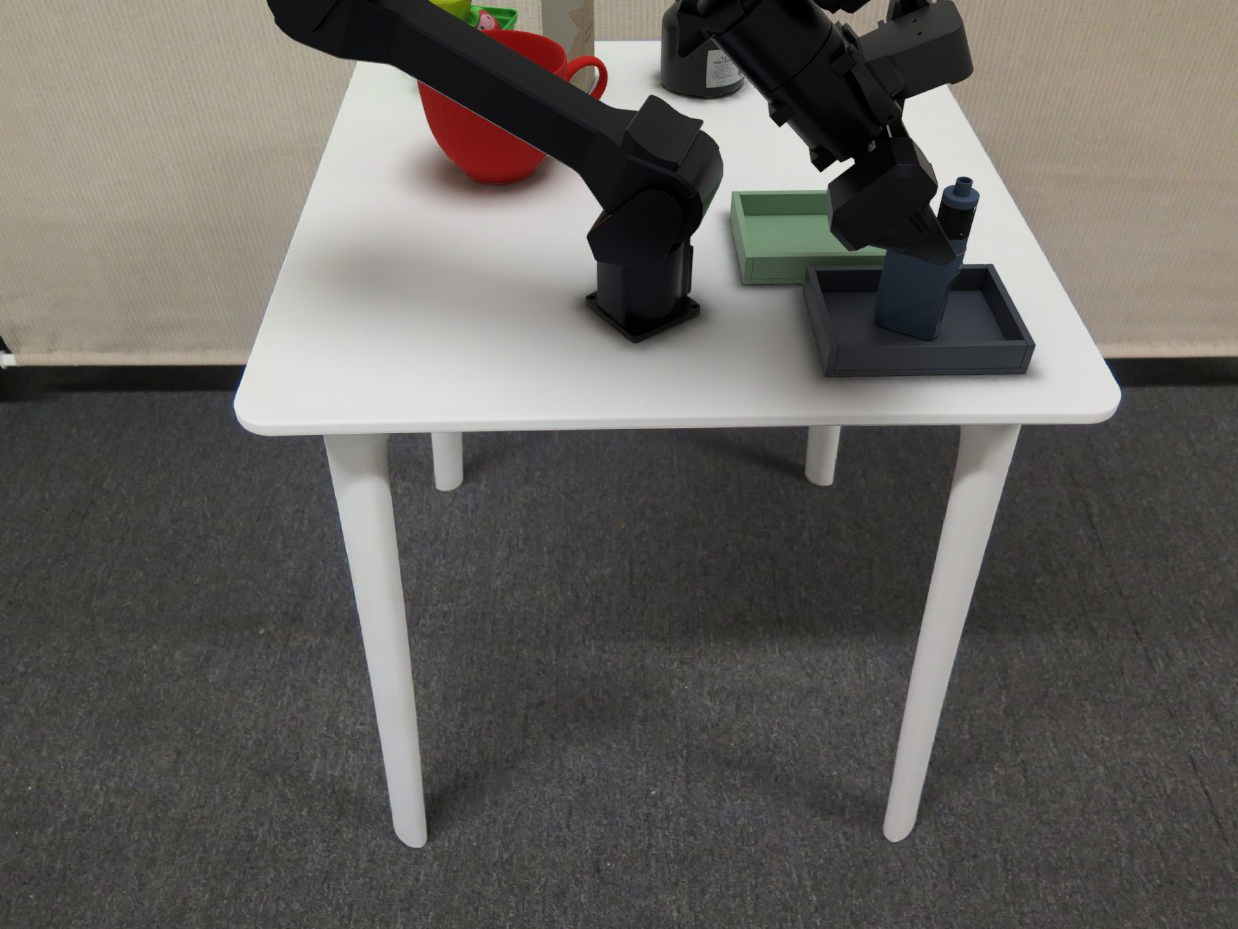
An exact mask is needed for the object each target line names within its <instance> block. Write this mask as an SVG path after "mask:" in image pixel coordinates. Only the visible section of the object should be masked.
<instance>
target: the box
mask: <svg viewBox="0 0 1238 929" xmlns="http://www.w3.org/2000/svg"><path fill="white" fill-rule="evenodd" d="M540 3H541V4H540V5H541V6H540V7H541V27H542V36H544V37H547V38H549V39H551V40H553V41H555V42H557V43H558V44H559V45H560V46H562V47H563V49H564V50H565V52H566V54H567V64H568V63H569V62H570V61H572V60H574V59H576V58H578V57H581V56H595V54H596V52H595V50H596V49H595V48H596V47H595V0H540ZM595 57H596V56H595ZM595 80H596V66H586V67H583V68H581V69H580V70H578V71H577V72H576V73H575V74H574V75H573V76H572V78H571V79H570V81H569V83H571V84H572V85H574V86H576V87H577V88H579V89H581V90H583V91H584V92H586V93H588V94H589V92H590V90H591V88H592V86H593V84H594V82H595Z"/></svg>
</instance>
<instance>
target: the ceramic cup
mask: <svg viewBox="0 0 1238 929" xmlns="http://www.w3.org/2000/svg"><path fill="white" fill-rule="evenodd" d="M480 31H481V32H483V33H485V34H487V35H488V36H490V37H492V38H493V39H495V40H497V41H499V42H500V43H502V44H504V45H505V46H507V47H509V48H511V49H512V50H514V51H516V52H517V53H519V54H521V55H523V56H524V57H526V58H528V59H529V60H531V61H533V62H535V63H536V64H538V65H540V66H541V67H543V68H545V69H547V70H548V71H550V72H552V73H553V74H555V75H557V76H559V77H560V78H562V79H564V80H565V81H567V82H569V81H570V79H571V78H572V76H573V75H574V74H575V73H576V72H577V71H578V70H580V69H581V68H583V67H586V66H595V68H597V70H598V79H597V83H596V85H595V86H594V88H593V90H592V91H591V92H590V94H589V95H591V96H593V97H595V98H596V99H598V100H601V98H602V96H603V95H604V93H605V91H606V88H607V86H608V82H609V72H608V69H607V67H606V64H605V63H604V62H603V60H601V59H600V58H599V57H598V56H581V57H578V58H576V59H574V60H572V61H570V62H569V63H568V64H567V54H566V52H565V50H564V49H563V47H562V46H560V45H559V44H558V43H557V42H555V41H553V40H551V39H549V38H547V37H544V36H543V35H541V34H538V33H533V32H529V31H523V30H515V29H514V30H480ZM416 84H417V88H418V93H419V97H420V101H421V105H422V108H423V113H424V116H425V118H426V122H427V124H428V127H429V130H430V132H431V134H432V136H433V138H434V139H435V141H436V143H437V145H438V146H439V147H440V149H441V150H442V151H443V152H444V154H445V155H446V157H447V158H448V159H449V160H450V161H452V162H453V163H454V165H456V167H457V168H459V169H460V170H462V171H463V172H464V173H465V174H466V175H467V176H468V177H469V178H470V179H471V180H474V181H477V182H480V183H483V184H491V185H503V184H504V185H505V184H512V183H516V182H519V181H522V180H525V179H526V178H528V177H530V176H531V175H532V174H534V172H535V171H536V169H537V168H538V166H540V164H541V163H542V162H543V161H544V160H545V159H546V157H547V156H548V155H546V154H545V153H543V152H541V151H540V150H538V149H536V148H534V147H533V146H531V145H529V144H527V143H526V142H524V141H522V140H520V139H519V138H517V137H515V136H513V135H512V134H510V133H508V132H507V131H505V130H503V129H501V128H500V127H498V126H496V125H494V124H493V123H491V122H489V121H487V120H486V119H484V118H482V117H480V116H479V115H477V114H475V113H474V112H472V111H470V110H468V109H467V108H465V107H463V106H461V105H460V104H458V103H456V102H454V101H453V100H451V99H449V98H447V97H446V96H444V95H442V94H441V93H439V92H437V91H435V90H434V89H432V88H430V87H428V86H427V85H425V84H423V83H421V82H420V81H418V80H416Z"/></svg>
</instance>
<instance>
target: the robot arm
mask: <svg viewBox="0 0 1238 929" xmlns="http://www.w3.org/2000/svg"><path fill="white" fill-rule="evenodd" d="M265 1H266V4H267V6H268V8H269V10H270V12H271V14H272V15H273V22H274V25H275V26H277V28H278V29H279V30H280V31H281V33H283V34H285V35H286V36H287V37H288V38H290V39H291V40H292V41H294V42H296V43H298V44H301V45H303V46H305V47H309V48H311V49H312V50H313V49H314V50H315V51H318V52H321V53H324V54H326V55H329V56H331V57H334V58H336V59H339V60H345V61H352V62H353V61H354V62H363V63H369V64H370V63H371V64H378V65H379V64H380V65H386V66H390V67H393V68H395V69H397V70H398V71H401V72H402V73H404V74H406V75H407V76H409V77H411V78H412V79H414V80H416V81H417V80H418V81H420V82H421V83H423V84H425V85H427V86H428V87H430V88H432V89H434V90H435V91H437V92H439V93H441V94H442V95H444V96H446V97H447V98H449V99H451V100H453V101H454V102H456V103H458V104H460V105H461V106H463V107H465V108H467V109H468V110H470V111H472V112H474V113H475V114H477V115H479V116H480V117H482V118H484V119H486V120H487V121H489V122H491V123H493V124H494V125H496V126H498V127H500V128H501V129H503V130H505V131H507V132H508V133H510V134H512V135H513V136H515V137H517V138H519V139H520V140H522V141H524V142H526V143H527V144H529V145H531V146H533V147H534V148H536V149H538V150H540V151H541V152H543V153H545V154H546V155H547V156H548V157H550V158H552V159H554V160H555V161H557V162H558V163H561V164H562V165H564V166H566V167H567V168H569V169H571V170H572V171H574V172H575V174H578V176H579V177H580V178H581V180H582V181H583V182H584V184H585V185H586V187H587V189H588V190H589V191H590V193H591V195H592V196H593V197H594V199H595V200H596V201H597V203H598V204H599V206H600V208H601V209H602V211H601V212H600V214H599V215H598V217H597V218H596V220H595V221H594V223H593V225H592V226H591V228H590V229H589V230H588V232H587V234H586V240H587V243H588V246H589V248H590V251H591V254H592V256H593V258H594V260H595V262H596V291H594V292H591V293H588V294H587V295H585V297H584V298H585V304H586V306H588V307H590V308H591V309H592V310H593V311H594V312H595V313H596V314H598V315H599V316H600V317H602V318H603V319H604V320H605V321H607V323H609V324H610V325H611V326H613V327H614V328H615V329H616V330H618V331H619V332H620V333H621V334H622V335H624V336H625V337H626V338H628V340H630V341H633V342H640V341H641V340H643V339H646V338H648V337H650V336H652V335H655V334H657V333H659V332H661V331H663V330H665V329H668V328H670V327H673V326H674V325H677V324H679V323H681V322H683V321H686V320H688V319H691V318H693V317H695V316H697V315H699V314H701V310H702V306H701V304H700V303H699V302H697V301H695V300H694V299H693V298H692V297H690V296H689V294H691V293H692V285H693V284H692V283H693V281H692V280H693V268H694V267H693V265H694V252H695V251H694V249H695V247H694V245H692V244H691V242H692V241H691V240H692V239H691V238H692V236H693V235H695V233H696V232H697V231H698V229H699V228H700V226H701V224H702V222H703V220H704V218H705V216H706V214H707V213H708V210H709V208H710V207H711V204H712V202H713V200H714V199H715V195H716V194H717V192H718V190H719V188H720V186H721V183H722V181H723V177H724V165H725V164H724V161H723V157H722V154H721V151H720V146H719V145H718V143H717V142H716V140H715V139H714V137H712V136H710V135H709V134H708V133H707V132H706V131H704V130H702V127H703V125H704V120H703V119H701V118H696V117H691V116H688V115H686V114H684V113H681V112H679V110H677V109H675V108H674V107H673V106H672V105H671V104H669V103H668V102H667V101H666V100H664V99H663V98H662V97H659V96H658V95H655V94H652V93H651V94H649V95H648V96H647V97H646V99H645V100H644V102H643V103H642V105H641V106H640V108H639V109H638V110H637V109H636V110H635V109H626V108H618V107H613V106H611V105H609V104H606V103H605V102H603V101H601V99H599V100H598V99H596V98H595V97H593V96H591V95H590V94H589V92H588V93H586V92H584V91H583V90H581V89H579V88H577V87H576V86H574V85H572V84H571V83H569V82H567V81H565V80H564V79H562V78H560V77H559V76H557V75H555V74H553V73H552V72H550V71H548V70H547V69H545V68H543V67H541V66H540V65H538V64H536V63H535V62H533V61H531V60H529V59H528V58H526V57H524V56H523V55H521V54H519V53H517V52H516V51H514V50H512V49H511V48H509V47H507V46H505V45H504V44H502V43H500V42H499V41H497V40H495V39H493V38H492V37H490V36H488V35H487V34H485V33H483V32H481V31H480V30H478V29H476V28H475V27H473V26H471V25H469V24H468V23H466V22H464V21H463V20H461V19H459V18H457V17H456V16H454V15H452V14H451V13H449V12H447V11H445V10H444V9H442V8H440V7H439V6H437V5H435V4H433V3H432V2H430V1H429V0H265ZM871 1H872V0H680V2H679V5H678V8H677V11H676V16H677V20H678V26H679V38H678V47H677V56H678V57H679V58H681V59H686V58H687V57H689V56H690V55H691V54H692V53H693V52H695V51H696V50H697V49H698V48H699V47H701V46H702V45H703V44H704V43H705V42H707V41H708V40H709V39H711V40H712V41H713V42H714V43H715V44H716V45H717V46H718V47H719V48H720V49H721V51H722V52H723V53H724V54H725V55H726V56H727V57H728V58H729V59H730V61H731V62H732V63H733V64H734V65H735V66H736V67H737V68H738V69H739V71H740V72H741V73H742V74H743V75H744V76H745V78H746V79H747V81H748V82H749V83H750V84H751V85H752V86H753V87H754V88H755V89H756V91H757V92H758V93H759V94H760V95H761V96H762V97H763V98H764V100H765V101H766V102H767V108H768V109H767V111H768V117H769V118H770V119H771V120H772V121H773V123H775V125H776V126H777V127H778V128H779V129H780V128H781V127H783V126H784V125H785V124H787V125H788V127H789V128H790V129H792V130H793V132H794V133H795V135H797V137H799V139H801V140H802V142H803V143H804V144H805V145H806V146H807V147H808V153H809V154H808V155H809V159H810V163H811V164H812V165H813V166H814V168H816V170H817V171H818V172H819V173H820V174H822V173H823V172H824V171H825V170H826V169H828V168H829V167H830V166H832V165H833V164H834V163H836V162H837V161H838V162H839V163H841V164H842V163H845V162H846V161H848V160H850V159H853V162H854V163H853V164H852V165H851V166H849V167H848V168H847V169H845V170H844V171H843V172H841V173H840V174H839V175H837V176H836V177H835V178H833V180H831V181H830V182H829V183H827V188H826V190H827V194H826V200H825V206H826V212H827V218H828V223H829V229H830V232H831V233H832V234H833V235H834V236H835V238H836V239H837V240H838V241H839V242H840V243H841V244H842V245H843V246H844V247H845V248H846V249H847V250H848V251H858V250H859V249H862V248H865V247H866V246H872V247H876V248H881V249H885V250H889V251H893V252H897V253H900V254H903V255H907V256H910V257H913V258H916V259H919V260H923V261H926V262H929V263H932V264H935V265H939V266H945V265H947V264H949V263H950V262H952V261H953V260H954V259H955V258H956V253H955V251H954V249H953V247H952V245H951V243H950V241H949V239H948V238H947V236H946V234H945V232H944V230H943V228H942V226H941V225H940V223H939V221H938V219H937V215H936V214H935V212H934V209H933V208H932V206H931V201H932V200H933V199H934V198H935V196H937V194H938V190H939V182H938V179H937V176H936V173H935V170H934V166H933V164H932V162H930V161H929V159H928V158H927V157H926V155H925V153H924V151H923V150H922V149H921V148H920V147H919V145H918V143H917V142H915V140H914V139H913V137H911V135H910V133H909V132H908V129H907V126H906V125H905V123H904V121H903V114H904V108H905V103H906V100H908V99H910V98H913V97H916V96H918V95H921V94H924V93H927V92H929V91H931V90H934V89H937V88H940V87H942V86H945V85H947V84H949V85H956V84H959V83H961V82H963V81H965V80H967V79H968V78H970V77H971V76H972V74H973V73H974V71H975V67H974V63H973V60H972V55H971V54H972V53H971V50H970V46H969V41H968V37H967V32H966V29H965V24H964V20H963V18H962V16H961V13H960V12H959V10H958V7H957V5H956V4H955V2H954V1H953V0H936V2H933V0H889V2H888V7H887V12H886V16H885V20H884V19H881V20H878V21H876V24H877V28H875V29H873V30H871V31H869V32H866V33H865V34H862V35H861V36H859V35H858V34H857V33H856V32H855V31H854V29H853V28H852V27H851V25H850V24H849V23H848V22H845V23H844V24H843V23H841V22H840V20H837V21H836V22H835V23H834V22H833V21H832V20H831V19H830V18H829V17H828V15H827V14H826V13H825V12H824V11H828V12H829V13H830V14H831V15H835V14H836V13H837V12H839V11H840V10H841V11H843V12H845V13H847V14H852V15H854V14H855V13H857V11H859V10H860V9H862V8H863V7H865V6H866V5H867V4H868V3H869V2H871Z"/></svg>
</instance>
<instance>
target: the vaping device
mask: <svg viewBox="0 0 1238 929" xmlns="http://www.w3.org/2000/svg"><path fill="white" fill-rule="evenodd" d="M973 184H974V180H973V178H971V177H969V176H965V175H964V176H957V178H956V179H955V183H954V184H951V185H948V186H946V187H944V188H943V190H942V194H941V198H940V202H939V206H938V210H937V213H936V214H937V215H936V217H937V219H938V221H939V223H940V225H941V226H942V228H943V230H944V232H945V234H946V236H947V238H948V239H949V241H950V243H951V245H952V247H953V249H954V251H955V253H956V258H955V259H954V260H953V261H952V262H950V263H949V264H947V265H945V266H939V265H935V264H932V263H929V262H926V261H923V260H919V259H916V258H913V257H910V256H907V255H903V254H900V253H897V252H893V251H889V250H886V255H885V260H884V264H883V269H882V274H881V279H880V283H879V288H878V293H877V298H876V302H875V307H874V313H875V316H876V322H877V323H878V324H879V325H880V326H882V327H884V328H887V329H891V330H894V331H897V332H901V333H904V334H907V335H911V336H914V337H918V338H921V339H925V340H933V339H934V338H936V337H937V336H938V335H939V333H940V326H941V322H942V319H943V315H944V311H945V308H946V304H947V300H948V297H949V293H950V289H951V285H952V282H953V279H954V278H955V277H956V276H957V275H958V274H959V273H960V270H961V268H962V266H963V264H964V258H965V255H966V252H967V249H968V247H967V245H968V242H969V239H970V234H971V230H972V227H973V223H974V219H975V215H976V212H977V209H978V204H979V202H980V197H981V195H980V192H979V191H978V190H977V189H975V188H974V187H973Z"/></svg>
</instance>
